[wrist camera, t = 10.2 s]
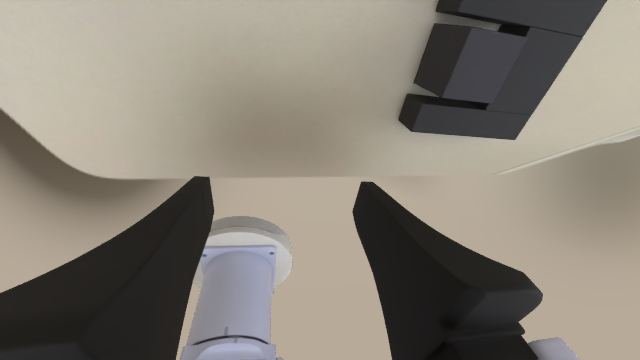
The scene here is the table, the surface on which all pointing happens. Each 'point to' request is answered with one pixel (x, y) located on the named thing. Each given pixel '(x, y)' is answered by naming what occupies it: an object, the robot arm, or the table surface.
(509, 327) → the robot arm
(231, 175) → the table surface
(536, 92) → the dark grey piece
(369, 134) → the table surface
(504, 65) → the dark grey cube
